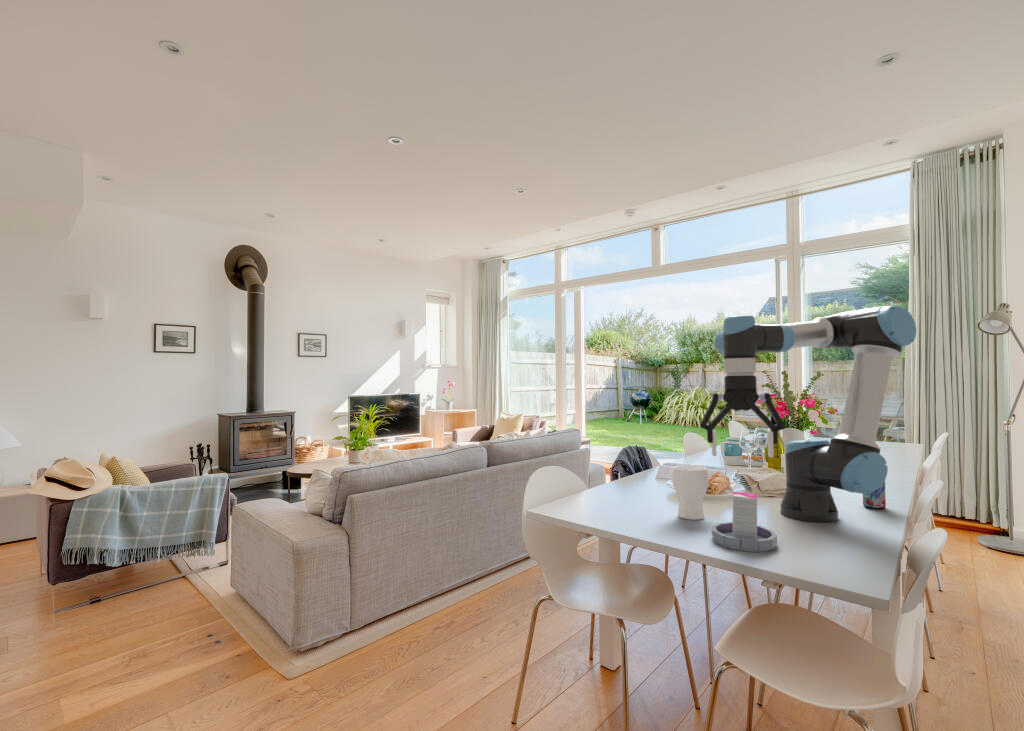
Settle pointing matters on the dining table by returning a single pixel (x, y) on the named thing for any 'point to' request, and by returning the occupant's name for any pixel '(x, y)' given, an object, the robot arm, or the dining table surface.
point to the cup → (690, 490)
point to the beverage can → (875, 499)
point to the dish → (762, 544)
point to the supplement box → (744, 516)
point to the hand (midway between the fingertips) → (742, 456)
